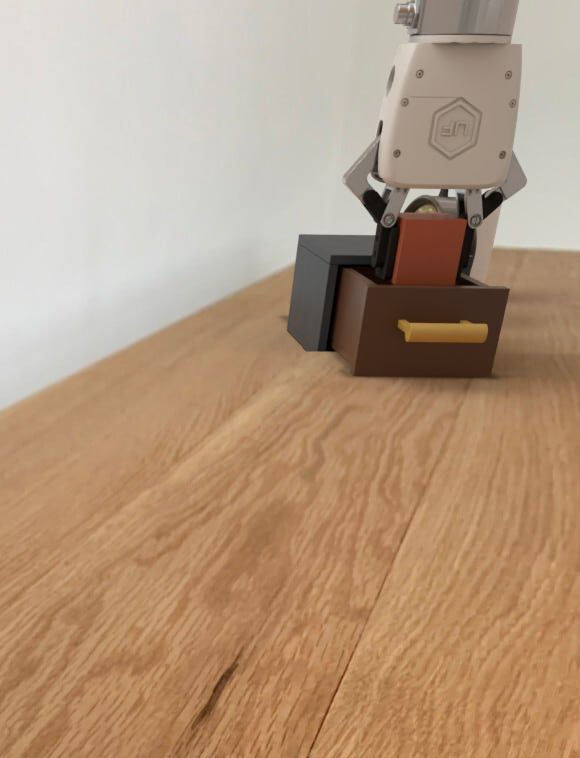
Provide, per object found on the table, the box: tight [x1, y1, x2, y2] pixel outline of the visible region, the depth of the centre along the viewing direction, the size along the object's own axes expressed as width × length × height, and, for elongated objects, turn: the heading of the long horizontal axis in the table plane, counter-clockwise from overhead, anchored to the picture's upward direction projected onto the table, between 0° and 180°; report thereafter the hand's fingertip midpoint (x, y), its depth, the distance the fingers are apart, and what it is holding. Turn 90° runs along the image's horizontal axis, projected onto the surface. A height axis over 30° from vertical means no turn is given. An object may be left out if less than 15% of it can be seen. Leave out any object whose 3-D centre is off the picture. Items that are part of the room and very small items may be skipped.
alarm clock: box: [402, 189, 477, 268], centre depth 117 cm, size 11×5×16 cm, turn 10°
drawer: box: [327, 265, 511, 379], centre depth 94 cm, size 17×11×7 cm, turn 179°
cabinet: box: [286, 233, 473, 353], centre depth 106 cm, size 14×13×9 cm
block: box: [387, 212, 467, 286], centre depth 93 cm, size 5×5×5 cm
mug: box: [470, 203, 503, 284], centre depth 130 cm, size 12×8×10 cm
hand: (416, 275), depth 94 cm, fingers closed on block, 5 cm apart
